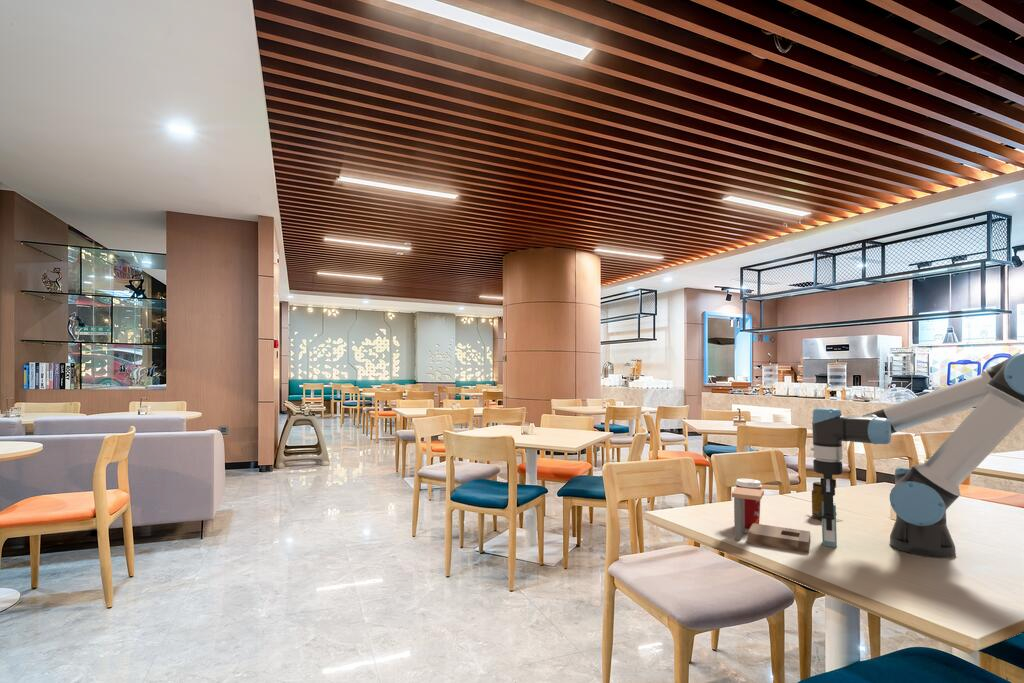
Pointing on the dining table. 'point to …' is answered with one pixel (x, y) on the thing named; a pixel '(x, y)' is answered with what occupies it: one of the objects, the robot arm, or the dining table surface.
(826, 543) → the peg
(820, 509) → the condiment
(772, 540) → the socket block
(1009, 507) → the dining table surface
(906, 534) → the robot arm
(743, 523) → the toy block arch
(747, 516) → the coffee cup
